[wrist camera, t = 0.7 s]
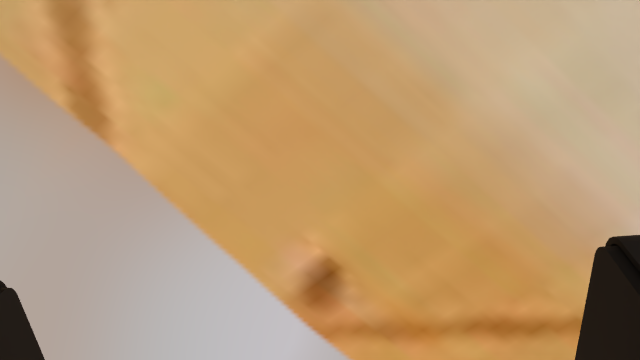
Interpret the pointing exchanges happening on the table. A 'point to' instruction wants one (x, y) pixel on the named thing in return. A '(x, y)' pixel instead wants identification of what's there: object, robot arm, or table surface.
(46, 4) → the table surface
